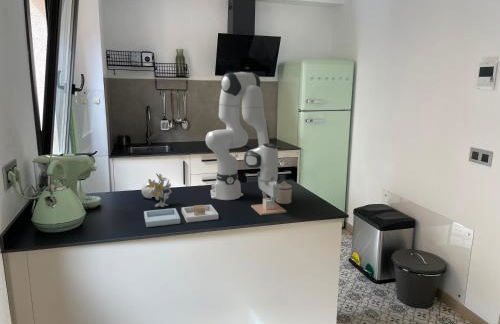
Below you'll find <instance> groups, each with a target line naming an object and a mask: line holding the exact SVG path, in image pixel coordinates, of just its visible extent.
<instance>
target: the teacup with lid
mask: <svg viewBox="0 0 500 324" xmlns="http://www.w3.org/2000/svg"><path fill="white" fill-rule="evenodd" d="M278 184H279V189H280V196H279V198H276V199H275V203H277V204H279V205H288V204H291V203H292V197H293V196H292V194H293V193H292V191H293V186H292V185H291V184H290V183H287V181H286V180H283V181H281V183H278Z"/></svg>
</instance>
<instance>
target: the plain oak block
mask: <svg viewBox="0 0 500 324" xmlns="http://www.w3.org/2000/svg"><path fill="white" fill-rule="evenodd" d="M193 206H194V215H195V216H199V215H205V207H204V206H203V204H197V205H193Z"/></svg>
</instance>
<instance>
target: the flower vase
mask: <svg viewBox="0 0 500 324" xmlns="http://www.w3.org/2000/svg"><path fill="white" fill-rule="evenodd" d="M155 175H156V177H157V178H158V182H156V181H155V179H150V178H149V179H148V181H147V182H146V183H144V184H143V185H142V186H141V195H142V196H143V197H145V199H153V198H152V197H154V198H155V200H156V201H159V200H160V201H159V202H157V203H156V204H155V205H154V208H158V207H161V208H163V207H165V206H167V207H168V206H169V204H168V203H165V202H166V200H168V199H169V197H170V194H172V192H173V190H171V186H172V184H171V182H170V179H168V177H163V175H162V174H161V173H155ZM165 182H166V184H165ZM165 190H168V191H169V192H165V193H164V191H165ZM162 198H163V201H162Z"/></svg>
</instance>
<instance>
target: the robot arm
mask: <svg viewBox="0 0 500 324" xmlns="http://www.w3.org/2000/svg"><path fill="white" fill-rule="evenodd" d="M220 86H221V89H220V95H219V100H218V101H219V103H218V118H219V121H221V122H222V123H224V124H225V126H226V127H225V129H215V130H212V131H208V132H207V134H206V135H205V145H206V146H207V148H208V149H210V150H211V151H212V152H213V153H214V155H215V158H216V164H217V166H216V167H217V172H216V179H215V181H214V182H213V183H214V184H211V189H210V197H211V199H214V200H215V199H216V200H223V201H232V200H236V199H240V197H243V196H244V193H242V191H241V181H240V180H239V173H238V160H237V158H236V157H235V156H234V155H232V154H230V149H237V148H242V147H244V146H246V145H247V143H248V141H249V135H248V132H247V131H246V130H245V129H244V127H243V126H242V125H241V121H240V102H241V114H242V119H243V121H244V122H245V123H246V124H247V125H249V126H251V127H252V128H253V129H255V131H256V135H257V143H258V147H256V148H252V149H249V150H247V151H246V152H245V153H244V157H243V161H244V164H245V165H246V166H247V167H248V168H250V169H255V168H259V169H260V171H258V172H257V177H258V178H257V179H258V180H257V182H258V183H257V184H258V185H257V186H258V188H259V189H260V191H262V192H261V193H262V200H263V199H266V198H268V196H269V198H271V201H270V204H271V205H274V203H275V202H276V198H279V196H280V189H279V184H280V183H279V182H277V181H278V180H279V179H278V176H279V174H278V173H279V169H278V165H279V151H278V150H279V149H278V147H277V146H276V145H275V144H273V143H271V141H270V132H269V125H268V121H267V119H266V117H265V109H264V97H263V92H262V89H261V88H260V87H261V79H260V76H259V75H258V74H256V73H253V72H247V71H246V72H245V71H239V72H228V73H224V75H222V77H221V80H220Z"/></svg>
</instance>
